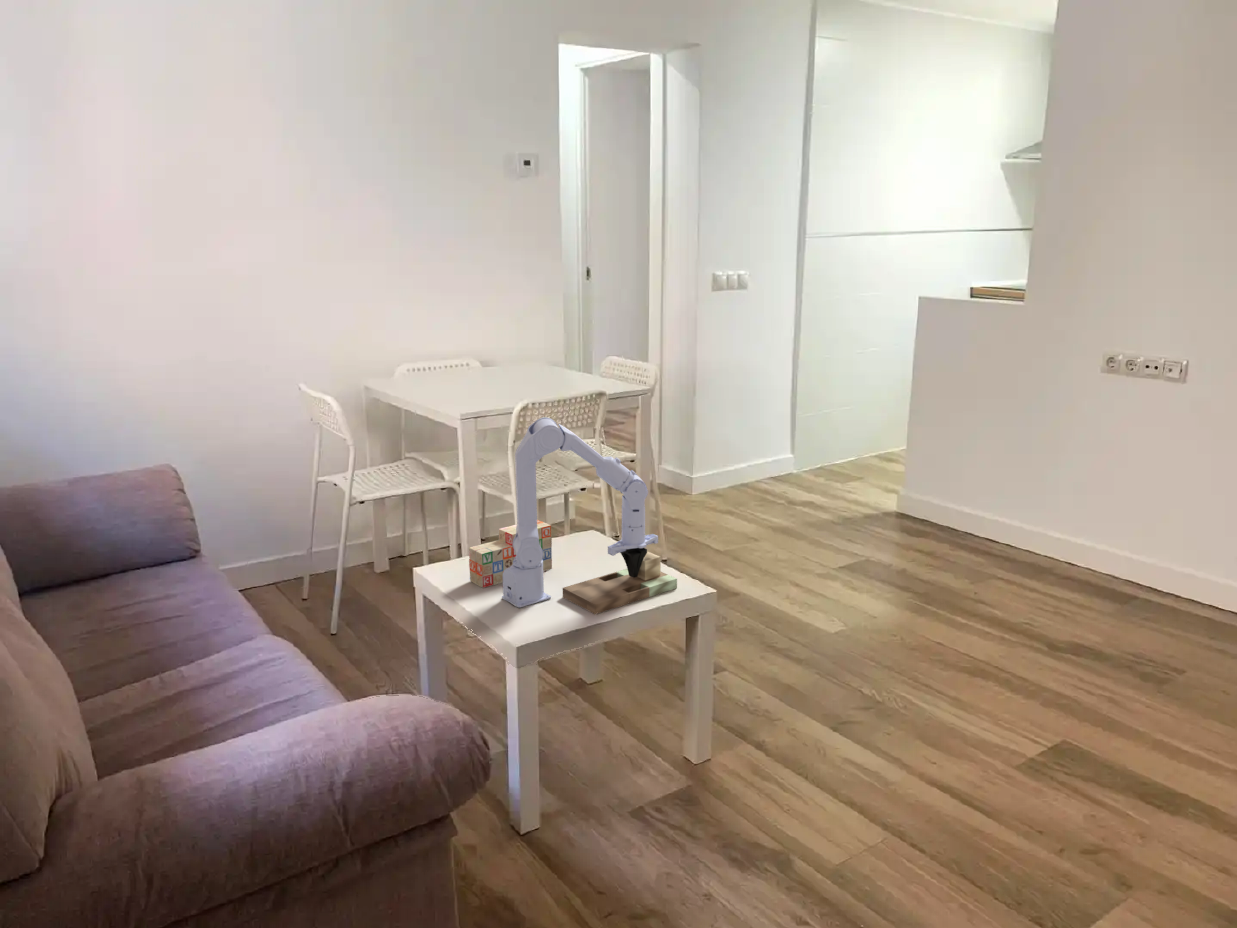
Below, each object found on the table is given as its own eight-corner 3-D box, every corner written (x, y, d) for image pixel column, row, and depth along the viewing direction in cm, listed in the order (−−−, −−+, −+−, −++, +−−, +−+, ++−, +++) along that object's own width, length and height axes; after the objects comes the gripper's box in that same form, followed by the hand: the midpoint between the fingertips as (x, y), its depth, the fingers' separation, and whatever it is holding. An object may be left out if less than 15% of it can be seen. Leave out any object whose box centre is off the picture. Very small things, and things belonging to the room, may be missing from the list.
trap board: (595, 614, 224) (595, 604, 223) (562, 597, 233) (562, 587, 233) (676, 587, 239) (677, 578, 238) (643, 572, 249) (643, 563, 248)
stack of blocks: (482, 589, 239) (480, 542, 236) (469, 581, 244) (467, 535, 241) (552, 568, 252) (551, 524, 249) (538, 562, 257) (537, 518, 254)
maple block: (645, 580, 237) (645, 561, 236) (632, 574, 241) (632, 555, 240) (660, 575, 240) (660, 556, 239) (647, 570, 244) (647, 551, 243)
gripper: (620, 534, 227) (620, 587, 230) (666, 521, 236) (666, 573, 239) (602, 526, 232) (602, 579, 236) (647, 515, 241) (647, 565, 244)
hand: (633, 576), depth 238 cm, fingers closed
